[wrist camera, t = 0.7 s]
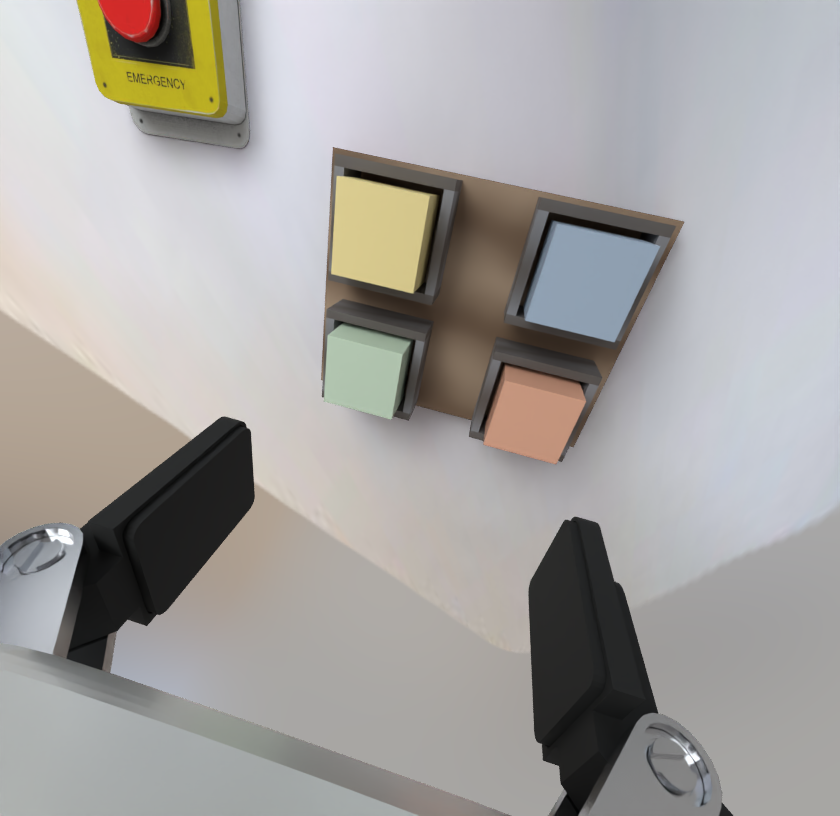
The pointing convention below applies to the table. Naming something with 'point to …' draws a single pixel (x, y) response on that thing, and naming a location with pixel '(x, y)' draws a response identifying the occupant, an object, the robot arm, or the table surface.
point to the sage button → (366, 369)
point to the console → (482, 290)
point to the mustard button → (382, 233)
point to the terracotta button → (533, 413)
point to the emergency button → (172, 65)
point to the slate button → (587, 280)
